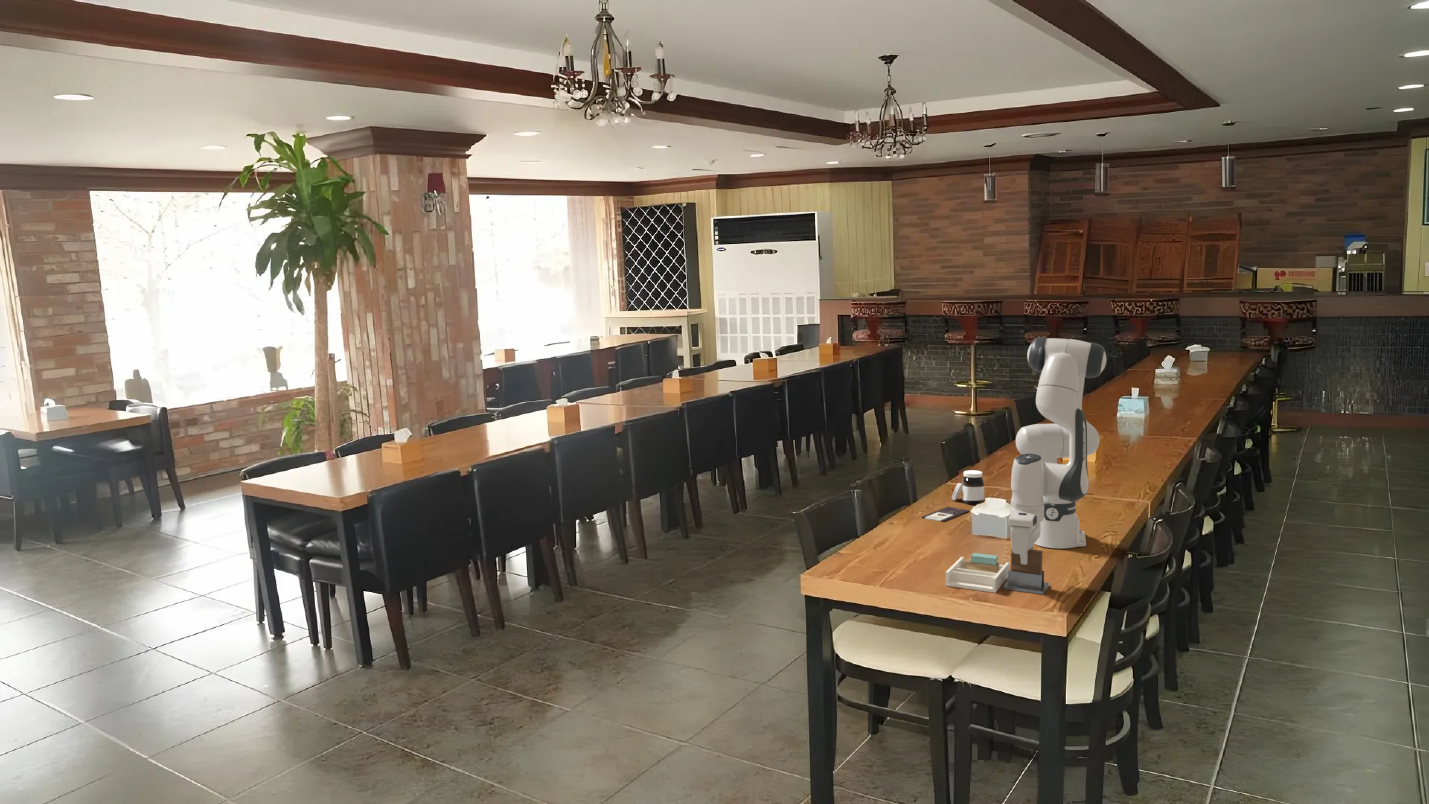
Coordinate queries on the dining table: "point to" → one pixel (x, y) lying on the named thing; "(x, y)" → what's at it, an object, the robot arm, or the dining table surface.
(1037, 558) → the walnut board
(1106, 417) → the dining table surface
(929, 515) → the chocolate bar
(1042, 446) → the robot arm
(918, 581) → the dining table surface
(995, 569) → the oak offcut
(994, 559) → the teal offcut
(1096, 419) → the dining table surface
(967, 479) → the spread jar
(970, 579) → the rack
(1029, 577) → the stand
